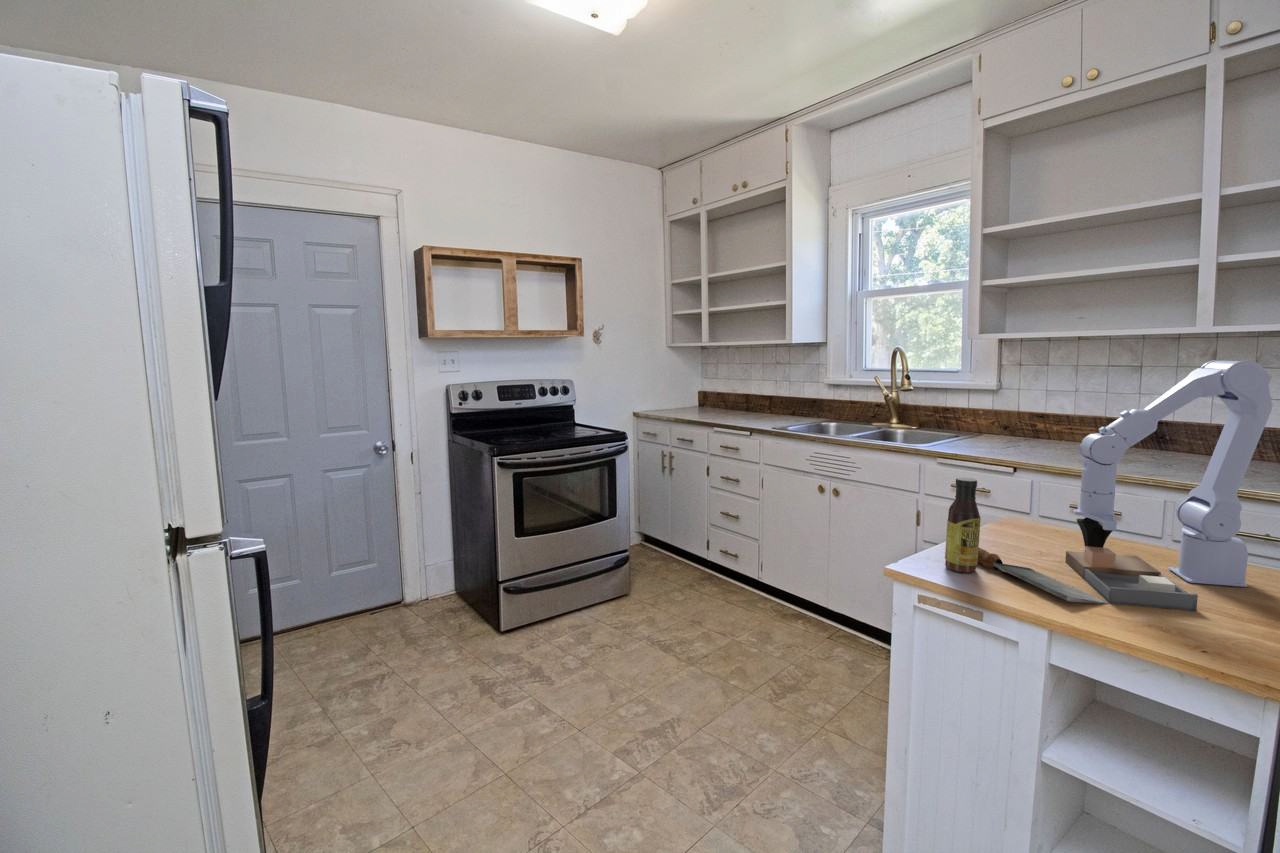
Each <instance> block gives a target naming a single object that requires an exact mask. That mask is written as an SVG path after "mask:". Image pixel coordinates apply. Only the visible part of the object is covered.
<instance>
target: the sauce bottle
mask: <svg viewBox="0 0 1280 853" xmlns="http://www.w3.org/2000/svg"><path fill="white" fill-rule="evenodd" d="M977 487H978V480H977V479H975V478H973V477H972V478H971V477H956V478H955V488H956V489H955V500H954V501H953V502H952V503H951V504H950V506H949V508H948V517H947V521H946V522H947V523H946V524H947V525H946V538H945V540H946V541H945V552H944V559H945V563H944V565H945V567H946V568H947V569H949V571H953V572H957V573H964V574H965V573H968V574H969V573H973V572H975V571H976V570H977V566H978V564H977V562H978V548H980V547H979V544H980V533H981V532H980V531H981V521H982V520H981V516H980V512H979V509H978V505H977V501H976V499H977V498H976V492H977Z"/></svg>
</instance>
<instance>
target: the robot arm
mask: <svg viewBox="0 0 1280 853" xmlns="http://www.w3.org/2000/svg"><path fill="white" fill-rule="evenodd" d="M1271 380H1272V376H1271V374H1270V373H1269V372H1268V371H1267V370H1266V369H1265V368H1264V366H1262V365H1261V364H1260V363H1258V362H1255V361H1252V360H1239V361H1238V360H1224V359H1213V360H1210V361H1207V362H1205V363H1204V364H1203V365H1201V366H1200V368H1199V367H1197V368H1196V369H1194V370H1192V371H1190V373H1189V374H1188V375H1186V377H1184V378H1183V379H1182V380H1181V381H1179V382H1178V383H1176V384H1175V385H1174V386H1173V387H1171V388H1170V389H1168V390H1167V391H1166V392H1164V393H1163V394H1162V395H1161V396H1159V397H1158V398H1156V399H1155V400H1154V401H1153V402H1151V403H1150V404H1148V405H1147V406H1146V407H1144V408H1142V409H1140V408H1131V409H1130V410H1123V411H1121V412H1120V413H1119V416H1120V417H1118V418H1117V419H1116V420H1114V421H1112V422H1111V423H1109V424H1108V425H1106V426H1101V427H1099V428H1098V431H1099V433H1098V432H1096V433H1090V434H1088V435H1086V436H1085V437H1083V439H1082V440H1081V443H1080V444H1078V447H1077V448H1078V451H1079V453H1080V455H1081V456H1082V458H1083V459H1082V468H1081V480H1080V481H1081V482H1080V483H1081V484H1080V495H1079V496H1080V498H1079V502H1078V503H1077V509H1072V513H1073V514H1074V515H1075V516H1076V515H1077V516H1082V517H1083V518H1076V522H1077V525H1078V527H1079V528H1080V531H1081V534H1082V538H1083V543H1084V547H1085V546H1089V547H1103V548H1104V546H1105V543H1106V541H1107V539H1108V538H1109V537H1110V535H1111V533H1112V532H1113V531H1115V532H1116V531H1117V525H1118V524H1117V523H1118V521H1116V519H1115V518H1116V517H1115V516H1116V514H1115V513H1114V511H1115V510H1114V508H1115V500H1116V499H1115V498H1116V484H1117V483H1116V481H1117V472H1118V471H1117V467H1118V461H1122V459H1123V458H1124V456H1125V452H1126V450H1128V449H1130V448H1131V447H1133V446H1134V445H1137V444H1138V443H1139V442H1140V441H1142V440H1144V439H1145V438H1147V437H1148V436H1150V435H1151V434H1152V433H1154V432H1157V428H1158V425H1159V424H1158V422H1159V421H1161V420H1162V419H1164V418H1166V417H1168V416H1169V415H1171V414H1173V413H1174V412H1177V411H1179V409H1181V408H1183V407H1185V406H1186V405H1188V404H1190V403H1191V402H1193V401H1195V400H1196V399H1198V398H1202V397H1215V396H1216V397H1218V398H1219V399H1220V400H1221V401H1222V403H1224V405H1225V406H1226V407H1227V408H1228V409H1229V413H1228V416H1227V418H1226V420H1225V423H1224V426H1223V428H1222V430H1221V433H1220V434H1219V438H1218V440H1217V443H1216V445H1215V448H1214V450H1213V453H1212V454H1211V455H1212V456H1211V457H1210V460H1209V462H1208V464H1207V467H1206V469H1205V473H1204V475H1203V478H1202V480H1201V482H1200V484H1199V485H1198V486H1196V487H1194V488H1193V489H1191V490H1190V491H1189V493H1188V495H1187V497H1186V498H1185V499H1184V500H1183V501H1182V502H1180V503H1179V505H1178V506H1177V508H1176V512H1175V513H1176V514H1175V515H1176V519H1177V520H1178V521H1179V523H1180V524H1182V528H1181V537H1180V538H1181V539H1180V547H1179V548H1180V549H1179V559H1178V567H1177V566H1176V567H1175V566H1174V567H1173V566H1168V570H1169V571H1171V572H1172V573H1174V574H1175V575H1177V576H1178V577H1179V578H1181V579H1182V580H1184V581H1185V582H1188V583H1192V584H1203V585H1204V584H1206V585H1216V586H1229V587H1230V586H1232V587H1245V588H1247V587H1248V583H1246V576H1247V568H1248V559H1249V555H1248V554H1249V552H1248V551H1249V550H1248V548H1247V545H1246V543H1245V542H1244V541H1243V540H1242V539H1241V538H1239V537H1235V536H1236V535H1237V534H1238V533H1239V531H1240V530H1241V526H1242V522H1241V511H1242V510H1243V506H1242V504H1241V501H1240V499H1239V496H1238V492H1239V489H1240V487H1241V484H1242V482H1243V480H1244V478H1245V475H1246V473H1247V470H1248V468H1249V465H1250V463H1251V461H1252V458H1253V455H1254V453H1255V451H1256V449H1257V446H1258V444H1259V441H1260V439H1261V437H1262V434H1263V432H1264V429H1265V427H1266V425H1267V423H1268V420H1269V417H1270V415H1271V412H1272V410H1273V401H1272V397H1271V392H1270V391H1271V390H1270V383H1271Z"/></svg>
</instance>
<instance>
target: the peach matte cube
mask: <svg viewBox="0 0 1280 853" xmlns="http://www.w3.org/2000/svg"><path fill="white" fill-rule="evenodd" d="M1083 552H1084V560H1085V561H1086V562H1087V563H1088V564H1089V565H1090V566H1092V567H1105V568H1115V559H1116V555H1117V554H1116V553H1115V552H1114V551H1112V550H1111V549H1109V547H1104V546H1103V547H1089V546H1085V545H1084V551H1083Z"/></svg>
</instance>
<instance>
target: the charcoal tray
mask: <svg viewBox="0 0 1280 853" xmlns="http://www.w3.org/2000/svg"><path fill="white" fill-rule="evenodd" d="M1158 577H1165V578H1167V577H1166V576H1165V575H1163V574H1162V573H1161V574H1158ZM1167 579H1168V580H1169V581H1171V582H1172V583H1173V584H1175V592H1169V591H1156V590H1144V589H1138V585H1139V576H1130V575H1117V574H1104V573H1092V572H1091V571H1090V570H1088V569H1084V579H1083V580H1084V581H1085V582H1087V583H1088V585H1090V586H1091V587H1092V588H1093V589H1094V590H1095V591H1096V592H1097V593H1098V594H1099V595H1101V597H1102V598H1104V599H1105V600H1106V602H1108V603H1109V604H1113V605H1114V604H1115V605H1123V606H1124V605H1125V606H1133V607H1134V606H1136V607H1147V608H1159V609H1170V610H1179V611H1180V610H1181V611H1191V612H1192V611H1193V612H1197V609H1198V608H1197V606H1198V600H1199V599H1198V597H1199V595H1198V593H1192V592H1191V593H1190V592H1187V590H1185V589H1183V588H1182V587H1181V586H1179V585H1177V584H1176V583H1174V582H1173V581H1172V580H1171V579H1169V578H1167Z"/></svg>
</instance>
